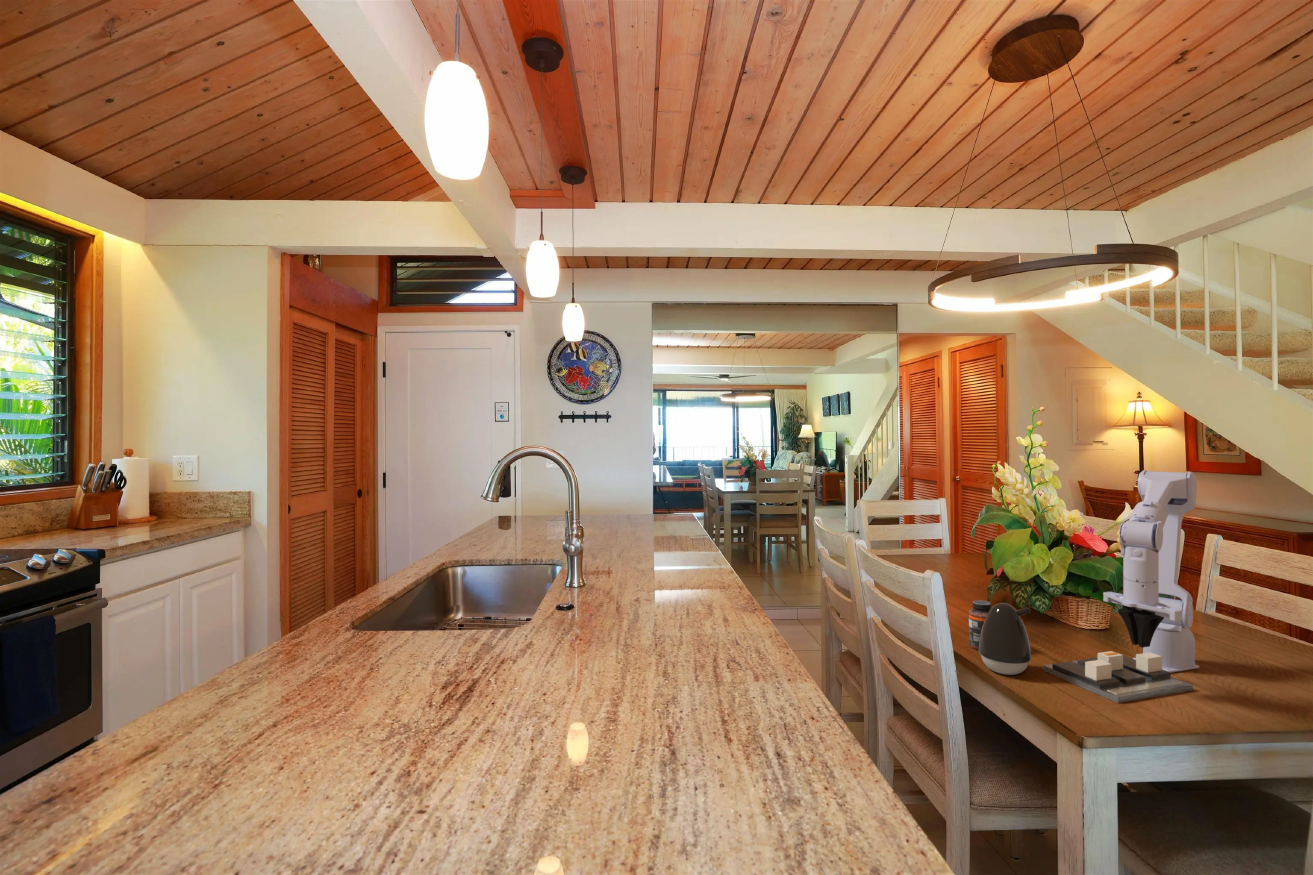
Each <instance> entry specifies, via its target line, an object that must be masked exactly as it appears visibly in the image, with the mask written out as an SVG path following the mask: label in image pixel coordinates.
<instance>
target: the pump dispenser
mask: <svg viewBox="0 0 1313 875" xmlns="http://www.w3.org/2000/svg"><path fill="white" fill-rule="evenodd" d="M1029 613H1031V609H1030V608H1029V607H1025V608H1021V609H1016V608H1015V607H1014V606H1013V605H1011V604H1009V603H1006V602H999V603H995V604H994V605H993V606H991V609H990V611H989V613H988V614H987V616H986V619H985V621H984V624H983V627H982V630H981V635H980V641H979V650H978V653H979V654H980V656H981V660H982V662H983V663H984V665H985V666H986V667H987V668H988V669H989V670H991V671H993V672H995V673H997V674H1000V675H1005V676H1016V675H1019V674H1021V673H1023V672H1024V671H1025V670H1027V667H1028V666H1029V663H1030V661H1031V660H1032V654H1031V653H1032V652H1031V645H1030V640H1029V636H1028V633H1027V632H1028V631H1027V629H1026V625H1025V624H1024V622H1023V619H1022V618H1021V617H1023V616H1025V615H1027V614H1029Z"/></svg>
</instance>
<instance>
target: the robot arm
mask: <svg viewBox="0 0 1313 875" xmlns="http://www.w3.org/2000/svg"><path fill="white" fill-rule="evenodd" d="M1197 486H1198V483H1197V476H1196V474H1195V473H1194V472H1192V471H1188V472H1185V471H1184V472H1183V471H1181V472H1179V471H1153V470H1151V471H1150V470H1145V469H1143V470H1142V471H1141V472H1140V473H1138V477H1137V491H1138V494H1139V495H1140V499H1141V501H1140V502H1138V503H1137V504H1136V505H1135V506H1134V508H1133V510H1132V513H1131V514H1130V517H1129V519H1128V520H1126V521H1125V522H1121V523H1120V525H1119V530H1118V540H1119V545H1120V554H1121V555H1120V556H1122V558H1123V562H1122V564H1123V568H1122V569H1123V571H1122V572H1123V573H1122V574H1123V578H1122V579H1123V580H1122V581H1123V582H1122V583H1123V584H1122V586H1123V587H1122V588H1123V591H1122V592H1123V593H1119V592H1118V593H1117V592H1114V591H1104V592H1103V593H1102V594H1103V599H1102V600H1103V602H1106V603H1113V604H1117V605H1120V606H1122V607H1121V608H1118V609H1117V610H1118V611H1117V612H1118V614H1119V616H1120V617H1121V620H1123V623H1124V624H1125V627H1126V629H1127V632H1128V634H1129V638H1130V641H1131V642H1130V643H1131V645H1133V646H1138V647H1140V648H1142V653H1149V652H1151V653H1154V654H1156V655H1159V656H1162V670H1165V671H1168V672H1170V673H1175V672H1182V671H1189V670H1195V669H1199V668H1200V665H1198V664H1196V638H1195V635H1194V633H1193V632H1192V631H1191V630H1190V628H1191V627H1192V625H1193V621H1194V606H1193V602H1194V599H1193V597H1192V595H1191V593H1190V592H1189V591H1188V590H1186V589H1185V588H1183V587H1182V586H1181V585H1179V584H1178V580H1179V566H1180V564H1179V563H1180V549H1181V536H1182V523H1183V519H1184V516H1185V514H1186V513H1188V512H1191V511H1193V510H1195V506H1196V505H1197V504H1196V502H1197V488H1198V487H1197ZM1132 659H1134V660H1136V657H1133V658H1132Z"/></svg>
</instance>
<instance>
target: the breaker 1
mask: <svg viewBox="0 0 1313 875" xmlns="http://www.w3.org/2000/svg"><path fill="white" fill-rule="evenodd" d="M1085 676H1086V677H1089V678H1091V679H1093V680H1096V681H1098V680H1105V679H1111V664H1110V663H1107V662H1105V661H1102V660H1095V661H1088V662H1085Z"/></svg>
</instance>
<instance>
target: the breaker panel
mask: <svg viewBox="0 0 1313 875" xmlns="http://www.w3.org/2000/svg"><path fill="white" fill-rule="evenodd" d="M1095 660H1098V656H1096V657H1090V658H1083V659H1076V660H1070V661H1069V660H1068V661H1063V662H1062V661H1061V662H1056V663H1048V664H1042V667H1043V668H1042V670H1043V672H1045V673H1048V674H1051V675H1053V676H1055V677H1057V678H1059V679H1061V678H1063V679H1062V680H1064V679H1065V680H1064V681H1066V682H1069V683H1071V684H1073V685H1075V686H1078V687H1080V688H1082V689H1084V690H1087V691H1089V692H1091V693H1094V694H1096V695H1098V696H1101V697H1102V698H1105V699H1107V700H1110V701H1112V702H1113V703H1116V704H1121V703H1126V702H1127V703H1128V702H1132V701H1138V700H1139V701H1140V700H1144V699H1151V698H1156V697H1163V696H1168V695H1173V694H1181V693H1186V692H1190V691H1193V690H1194V689H1193V688H1194V684H1192V683H1190V682H1187V681H1184V680H1181V679H1179V678H1175V677H1173V676H1171V673H1172V672H1171V673H1170V672H1168V671H1165V670H1162V671H1155V672H1149V673H1148V672H1145V671H1142V670H1140V669H1137V668H1136V660H1134V659H1133V658H1131V657H1129V656H1127V655H1126V656H1125V655H1123V669H1120V670H1113V671H1111V679H1105V680H1098V681H1096V680H1093V679H1091V678H1089V677H1086V676H1085V662H1088V661H1095Z"/></svg>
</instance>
